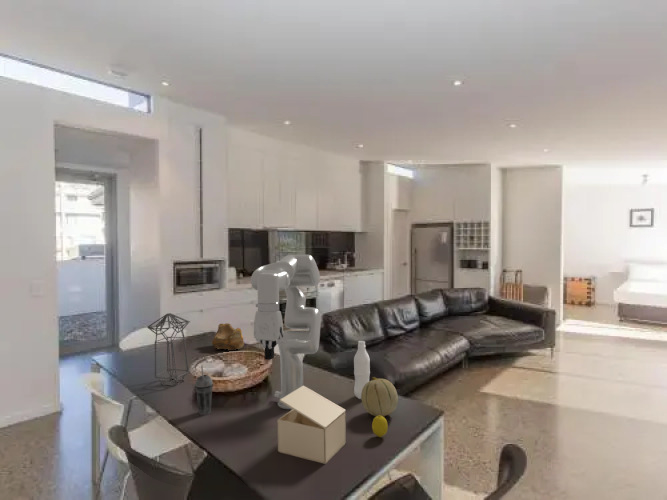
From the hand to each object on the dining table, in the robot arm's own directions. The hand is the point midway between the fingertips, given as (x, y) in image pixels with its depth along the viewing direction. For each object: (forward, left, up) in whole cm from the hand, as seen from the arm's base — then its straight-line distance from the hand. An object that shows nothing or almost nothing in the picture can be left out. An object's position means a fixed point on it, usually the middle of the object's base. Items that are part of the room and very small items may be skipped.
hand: (269, 358), depth 157 cm
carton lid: (+18, 0, -14) cm, 23 cm away
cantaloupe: (+28, +35, -29) cm, 53 cm away
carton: (+17, 0, -29) cm, 33 cm away
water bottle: (+14, +50, -29) cm, 60 cm away
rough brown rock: (-100, +91, -29) cm, 138 cm away
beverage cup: (-38, +7, -29) cm, 48 cm away
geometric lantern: (-80, +28, -29) cm, 90 cm away
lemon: (+35, +17, -29) cm, 49 cm away
